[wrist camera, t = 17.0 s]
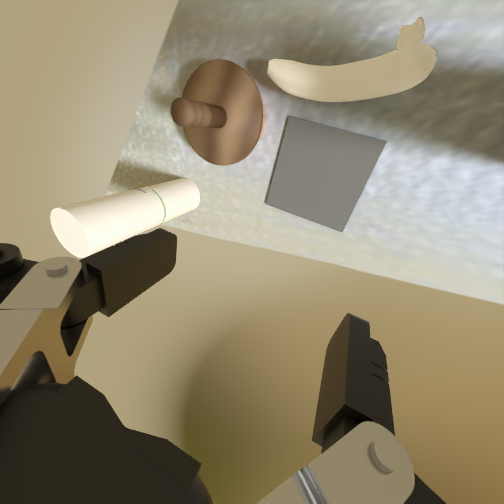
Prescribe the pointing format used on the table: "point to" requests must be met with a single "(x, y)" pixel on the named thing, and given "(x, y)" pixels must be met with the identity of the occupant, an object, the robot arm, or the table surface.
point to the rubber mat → (322, 172)
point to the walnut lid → (220, 112)
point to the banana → (360, 72)
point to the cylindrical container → (121, 215)
